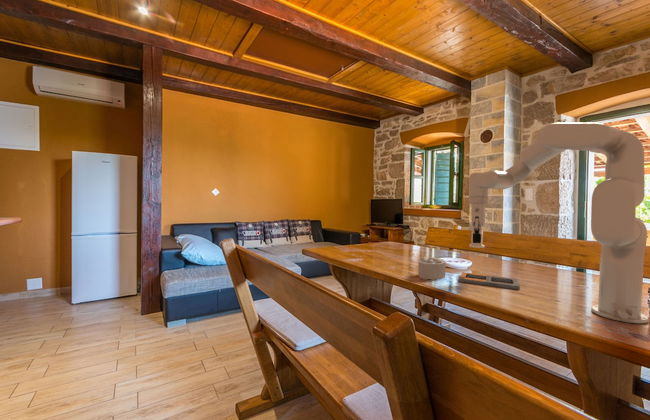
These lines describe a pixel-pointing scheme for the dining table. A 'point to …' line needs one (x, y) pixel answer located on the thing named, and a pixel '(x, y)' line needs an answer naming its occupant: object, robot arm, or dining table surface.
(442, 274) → the lumpy-topped squat cylinder
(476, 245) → the flanged peg
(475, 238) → the robot arm
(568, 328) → the dining table surface
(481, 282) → the grey slotted board
